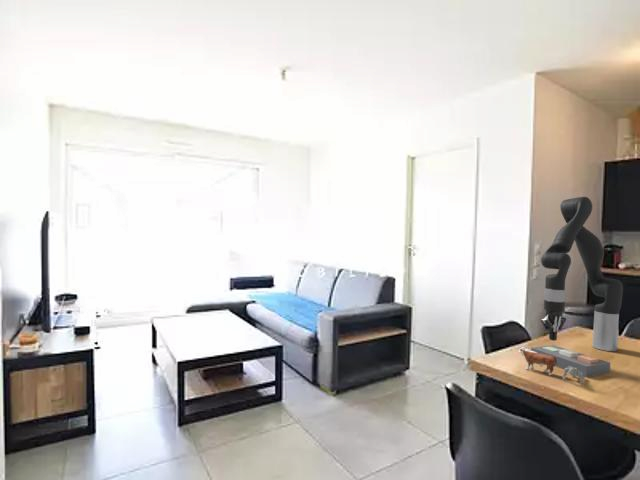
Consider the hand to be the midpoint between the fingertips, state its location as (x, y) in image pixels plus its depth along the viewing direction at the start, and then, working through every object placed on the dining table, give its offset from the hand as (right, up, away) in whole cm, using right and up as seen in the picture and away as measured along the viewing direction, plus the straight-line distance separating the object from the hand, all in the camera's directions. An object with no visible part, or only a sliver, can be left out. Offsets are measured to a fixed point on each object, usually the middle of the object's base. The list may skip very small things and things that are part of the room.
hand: (552, 340), depth 160 cm
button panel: (+2, -8, -7) cm, 11 cm away
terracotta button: (+5, -6, -14) cm, 16 cm away
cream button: (+2, -6, -7) cm, 9 cm away
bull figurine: (-16, -8, -15) cm, 23 cm away
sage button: (-1, -7, 0) cm, 7 cm away
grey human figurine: (-7, -9, -24) cm, 27 cm away
